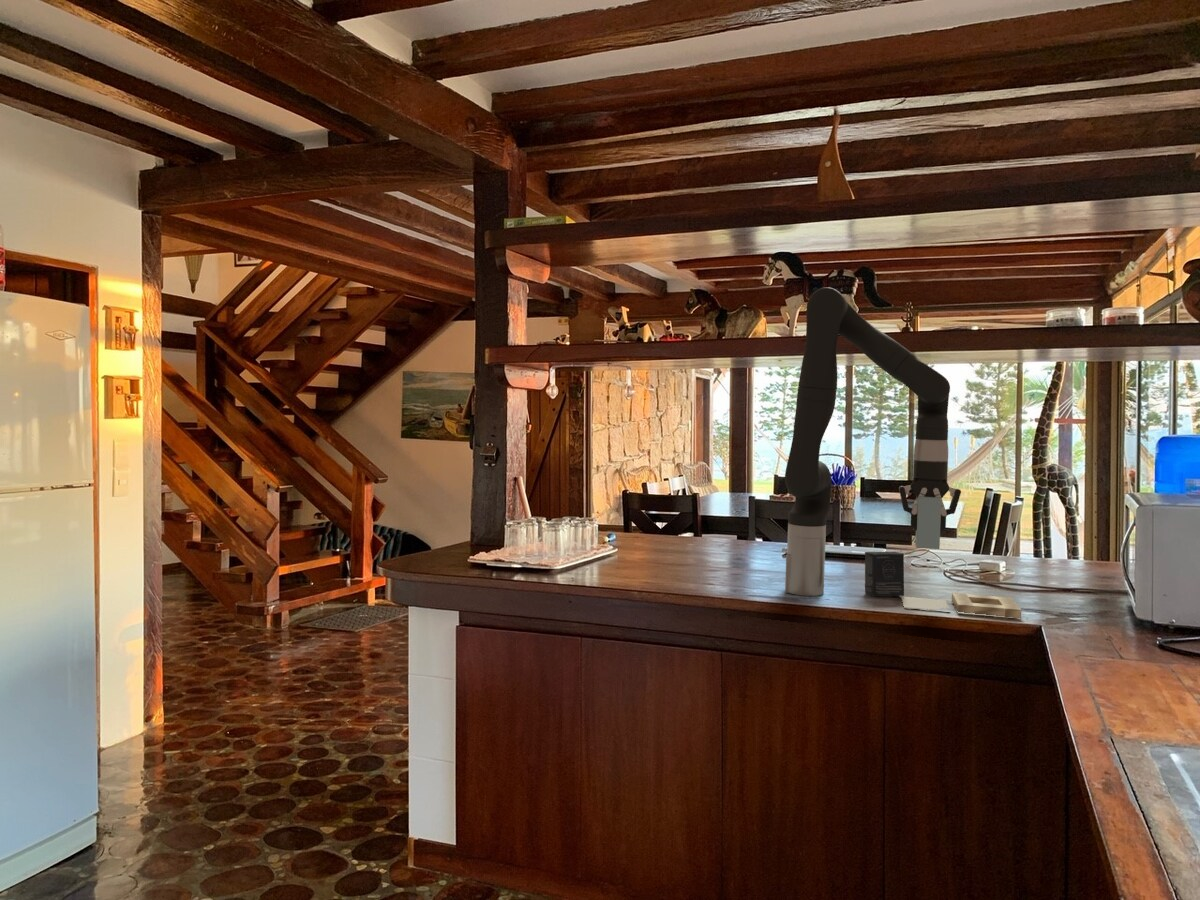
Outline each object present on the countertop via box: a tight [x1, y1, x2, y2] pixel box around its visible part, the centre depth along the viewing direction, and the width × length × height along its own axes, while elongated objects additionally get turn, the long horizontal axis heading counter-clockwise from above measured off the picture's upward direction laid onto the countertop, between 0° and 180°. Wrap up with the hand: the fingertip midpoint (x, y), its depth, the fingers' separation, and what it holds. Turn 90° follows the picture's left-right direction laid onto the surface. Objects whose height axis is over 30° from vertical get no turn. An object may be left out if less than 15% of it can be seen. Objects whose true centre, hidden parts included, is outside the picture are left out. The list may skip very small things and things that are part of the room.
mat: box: [900, 596, 950, 610], centre depth 196 cm, size 10×12×1 cm
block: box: [914, 497, 943, 550], centre depth 195 cm, size 5×5×12 cm
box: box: [864, 551, 905, 597], centre depth 205 cm, size 8×6×11 cm
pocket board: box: [951, 592, 1022, 620], centre depth 192 cm, size 13×13×2 cm
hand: (927, 530), depth 195 cm, fingers closed on block, 5 cm apart
